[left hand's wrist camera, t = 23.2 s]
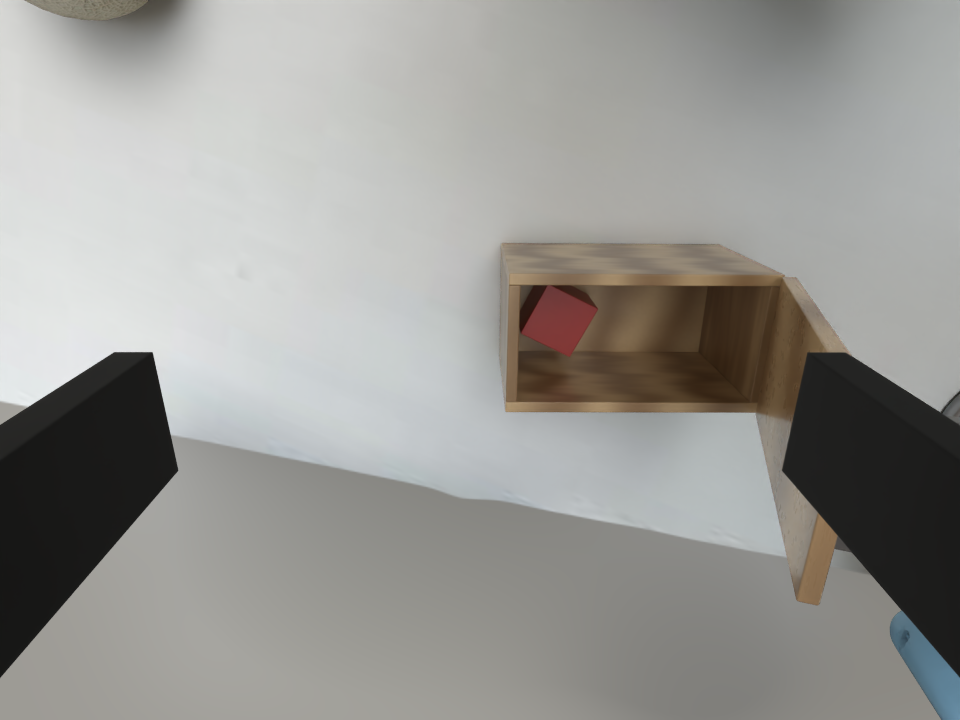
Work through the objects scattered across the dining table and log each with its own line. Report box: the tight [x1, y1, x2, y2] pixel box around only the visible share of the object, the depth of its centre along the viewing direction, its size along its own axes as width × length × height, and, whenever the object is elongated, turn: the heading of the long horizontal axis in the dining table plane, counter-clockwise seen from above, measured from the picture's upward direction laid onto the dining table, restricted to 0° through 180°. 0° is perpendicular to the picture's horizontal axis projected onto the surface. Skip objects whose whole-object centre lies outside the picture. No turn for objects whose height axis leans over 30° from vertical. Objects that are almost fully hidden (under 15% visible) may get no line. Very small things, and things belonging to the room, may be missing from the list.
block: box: [519, 285, 598, 357], centre depth 47 cm, size 4×4×4 cm
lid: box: [756, 277, 960, 605], centre depth 30 cm, size 18×10×8 cm
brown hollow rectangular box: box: [499, 243, 785, 413], centre depth 44 cm, size 17×10×11 cm, turn 90°
